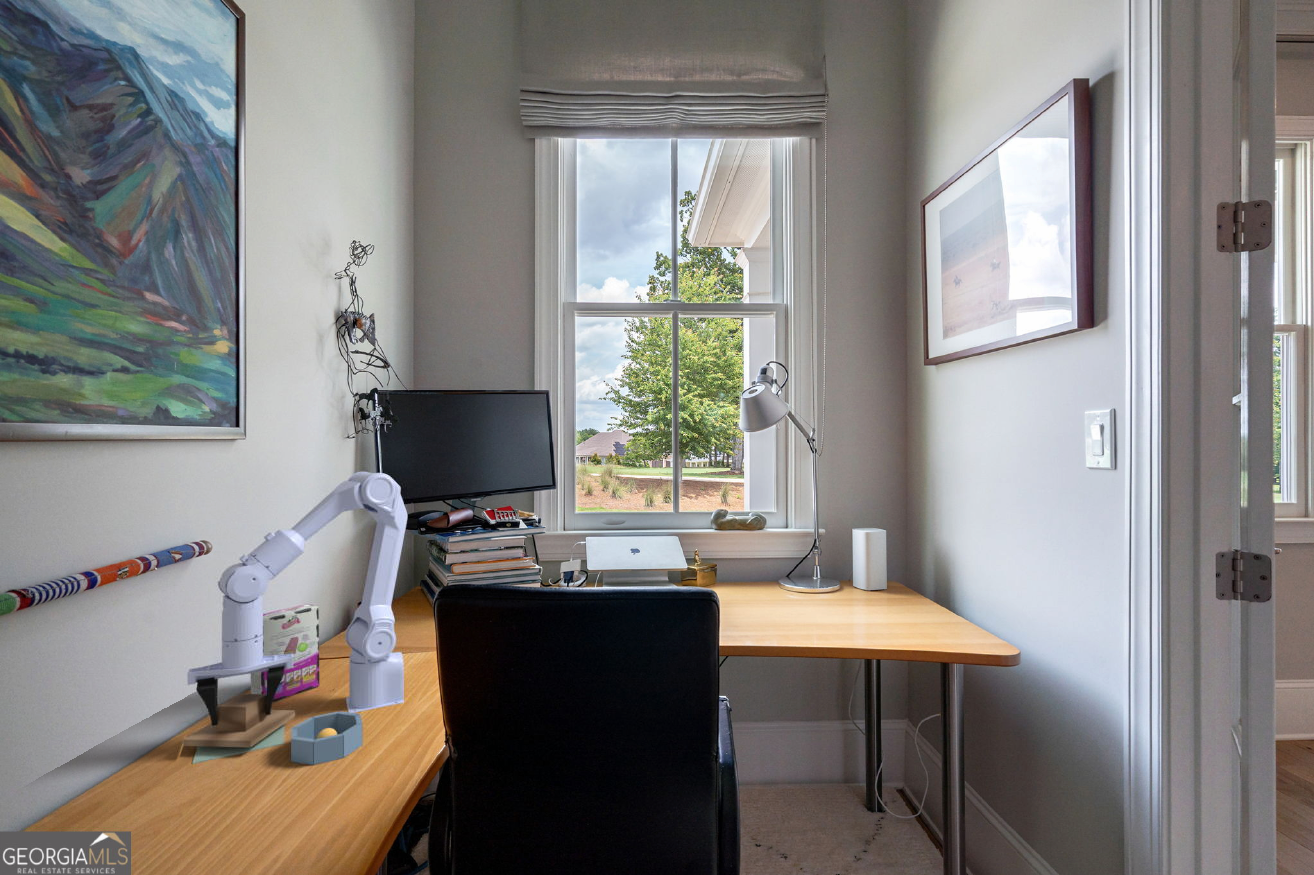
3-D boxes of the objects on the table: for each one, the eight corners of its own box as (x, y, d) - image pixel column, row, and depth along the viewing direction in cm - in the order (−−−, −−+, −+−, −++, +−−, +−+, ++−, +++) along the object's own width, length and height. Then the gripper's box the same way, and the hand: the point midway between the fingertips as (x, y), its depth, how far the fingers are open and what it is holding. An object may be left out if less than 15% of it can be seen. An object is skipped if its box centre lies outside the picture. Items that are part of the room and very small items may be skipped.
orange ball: (336, 741, 101) (336, 723, 101) (338, 749, 98) (338, 730, 98) (316, 746, 99) (316, 727, 99) (316, 754, 97) (316, 735, 97)
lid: (295, 716, 107) (295, 687, 107) (250, 747, 96) (250, 715, 96) (234, 715, 108) (234, 686, 108) (183, 745, 97) (183, 714, 97)
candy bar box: (307, 681, 128) (307, 602, 128) (320, 686, 125) (320, 606, 125) (248, 700, 118) (248, 615, 118) (261, 706, 115) (261, 619, 116)
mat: (284, 718, 110) (284, 715, 110) (283, 747, 100) (283, 743, 100) (202, 735, 104) (202, 731, 104) (192, 767, 94) (192, 763, 94)
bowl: (358, 730, 106) (358, 707, 106) (364, 756, 97) (364, 730, 97) (290, 745, 101) (291, 721, 101) (290, 773, 92) (291, 747, 92)
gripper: (293, 623, 109) (292, 699, 109) (192, 637, 102) (191, 718, 102) (293, 634, 103) (292, 715, 103) (185, 649, 96) (185, 736, 96)
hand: (242, 718), depth 102 cm, fingers closed on lid, 7 cm apart
